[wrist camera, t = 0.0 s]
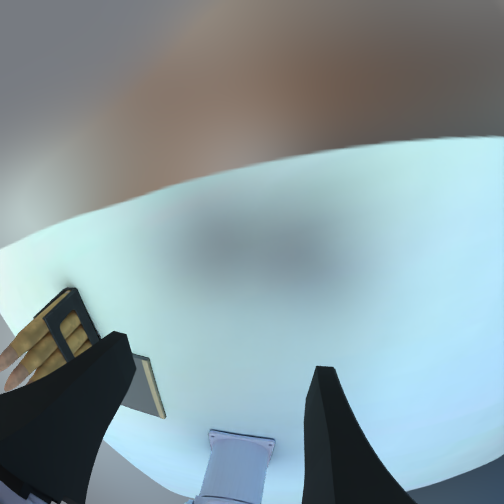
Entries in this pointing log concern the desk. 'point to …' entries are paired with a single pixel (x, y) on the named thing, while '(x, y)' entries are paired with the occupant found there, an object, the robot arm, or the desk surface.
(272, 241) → the desk surface
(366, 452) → the robot arm
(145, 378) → the mat
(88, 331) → the ammunition clip
